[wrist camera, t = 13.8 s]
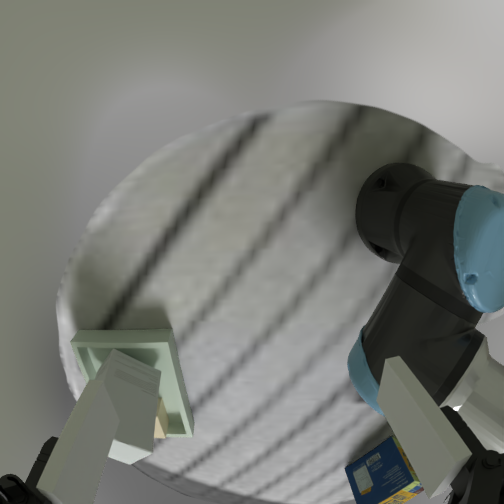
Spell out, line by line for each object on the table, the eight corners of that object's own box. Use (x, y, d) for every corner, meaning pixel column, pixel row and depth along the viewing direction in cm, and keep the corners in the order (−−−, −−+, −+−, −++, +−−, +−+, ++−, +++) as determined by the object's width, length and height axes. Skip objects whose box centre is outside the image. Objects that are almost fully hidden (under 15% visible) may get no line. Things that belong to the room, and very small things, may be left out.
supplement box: (95, 371, 46) (75, 445, 33) (113, 346, 42) (90, 430, 30) (140, 392, 49) (130, 466, 36) (163, 371, 46) (154, 454, 33)
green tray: (172, 328, 47) (167, 342, 43) (194, 422, 53) (193, 437, 49) (79, 329, 46) (70, 341, 42) (114, 419, 52) (109, 432, 48)
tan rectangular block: (162, 397, 49) (157, 416, 45) (169, 419, 51) (165, 438, 46) (121, 396, 49) (114, 414, 44) (130, 417, 51) (125, 435, 46)
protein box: (408, 444, 62) (431, 485, 47) (363, 475, 64) (379, 517, 49) (391, 434, 59) (415, 480, 44) (343, 468, 62) (358, 514, 47)
